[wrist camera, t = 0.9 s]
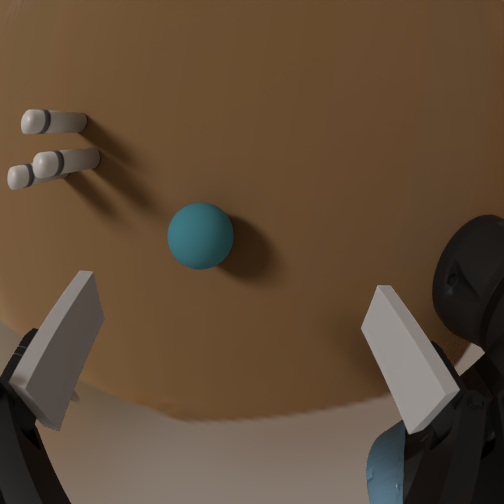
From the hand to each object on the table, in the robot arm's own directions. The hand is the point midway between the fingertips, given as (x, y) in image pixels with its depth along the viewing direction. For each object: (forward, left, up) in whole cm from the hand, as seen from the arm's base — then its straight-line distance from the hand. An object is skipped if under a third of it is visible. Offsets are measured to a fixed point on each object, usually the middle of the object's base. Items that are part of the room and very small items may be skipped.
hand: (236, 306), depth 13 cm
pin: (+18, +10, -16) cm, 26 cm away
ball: (+3, +5, -13) cm, 14 cm away
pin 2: (+21, +14, -16) cm, 30 cm away
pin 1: (+23, +9, -16) cm, 29 cm away
